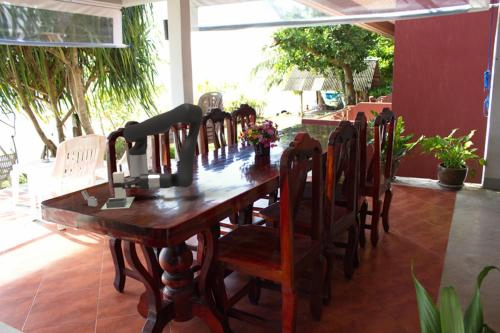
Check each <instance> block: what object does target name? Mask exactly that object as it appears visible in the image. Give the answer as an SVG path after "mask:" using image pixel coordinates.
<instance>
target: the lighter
mask: <svg viewBox="0 0 500 333" xmlns="http://www.w3.org/2000/svg"><path fill="white" fill-rule="evenodd" d="M81 195H82V197H83V198H84V200H85V201H87V206H88V207H98V204H99V203H98V198H95V196H89V193H88V192H87V190H86V189H85V190H82V191H81Z"/></svg>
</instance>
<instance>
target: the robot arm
mask: <svg viewBox="0 0 500 333" xmlns="http://www.w3.org/2000/svg"><path fill="white" fill-rule="evenodd" d="M203 113H204V112H203V108H202V107H201V106H200V105H196V104H192V103H187V102H185V103H181V104H179V105H177V106H176V107H174V108H172V109H170V110H168V111H164V112H163V113H160V114H156V115H153V116H152V117H150V118H147V119H144V120H143V121H141V122H139V123H135V124H130V125H127V126H125V128H124V129H123V132H122V133H123V134H122V136H123V138H124V139H125V141H127V142H128V143H134V145H132V147H131V148H129V149H128V158H129V159H128V160H129V171H130V172H129V173H130V176H127V177H124V178H125V182H122V183H114V182H113V183H112V188H121V187H122V189H125V190H126V189H128V190H131V189H136V188H139V189H140V190H141V191H148V190H150V191H151V190H158V189H159V190H160V189H171V188H181V187H182V188H189V187H190V186H192V184H193V183H194V165H195V159H196V158H195V157H196V149H197V148H196V147H197V143H198V139H199V134H200V130H201V126H202V121H203V117H204V116H203V115H204V114H203ZM181 123H184V124H189V128H188V129H189V131H188V133H187V136H186V137H185V140H183V143H182V145H181V147H180V153H179V167H178V172H176V173H175V172H173V173H149V166H148V164H149V163H148V153H147V152H148V151H147V150H148V146H149V145H148V137H149V136H156V135H160V134H163V133H167V132H168V131H170V130H171V129H172V128H173V126H174V125H176V124H181Z"/></svg>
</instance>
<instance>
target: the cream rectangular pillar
mask: <svg viewBox="0 0 500 333" xmlns="http://www.w3.org/2000/svg"><path fill="white" fill-rule="evenodd" d="M122 167H123V166H122V164H120V163H119V171H117V172H116V171H114V172H113V173H112V179H113V183H122V182H125V178H126V177H125V172H124V171H123V168H122ZM126 197H127V192H126V189H122V187H121V188H114V198H115V199H117V198H126Z"/></svg>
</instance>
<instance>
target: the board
mask: <svg viewBox="0 0 500 333" xmlns="http://www.w3.org/2000/svg"><path fill="white" fill-rule="evenodd" d="M134 200H135V196H126V198H117V199H115V197H112V198H111V197H110V198H108V199H107V201H106V202H105V203H104V205H103V206H102V207H101V210H113V209H114V210H117V209H129V208H130V207H131V205H132V203H133V202H134Z"/></svg>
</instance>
